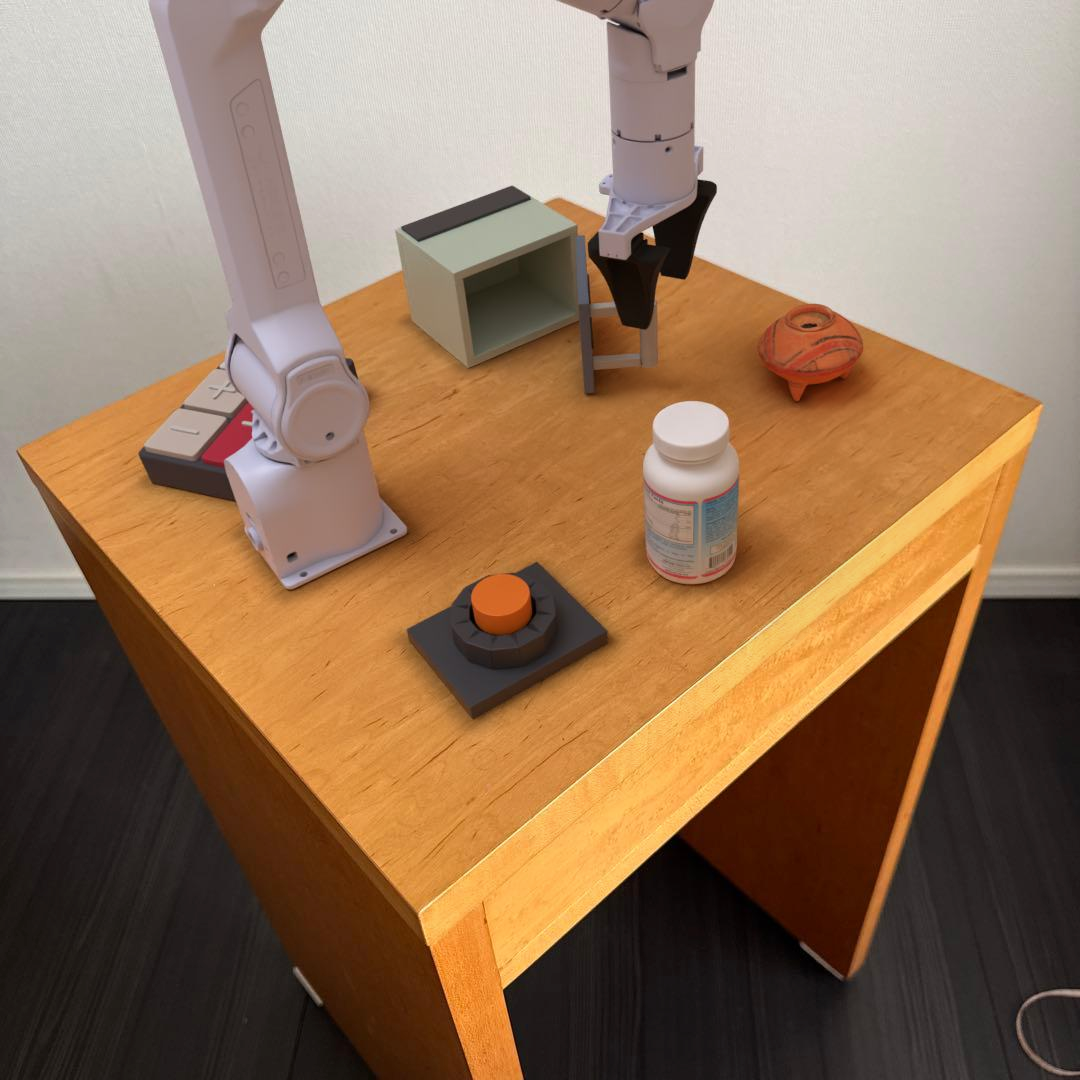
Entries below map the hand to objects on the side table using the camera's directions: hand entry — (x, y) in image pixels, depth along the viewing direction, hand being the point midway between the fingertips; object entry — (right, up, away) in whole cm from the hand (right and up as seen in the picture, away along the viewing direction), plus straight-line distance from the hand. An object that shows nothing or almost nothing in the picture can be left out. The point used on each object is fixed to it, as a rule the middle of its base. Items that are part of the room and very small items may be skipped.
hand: (655, 299), depth 86 cm
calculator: (-31, -10, +4) cm, 33 cm away
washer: (-13, +1, +14) cm, 19 cm away
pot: (+12, -6, +3) cm, 14 cm away
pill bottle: (+1, -20, -10) cm, 22 cm away
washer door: (-2, -3, +8) cm, 9 cm away
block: (-11, -25, -15) cm, 31 cm away
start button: (-11, -23, -16) cm, 30 cm away
